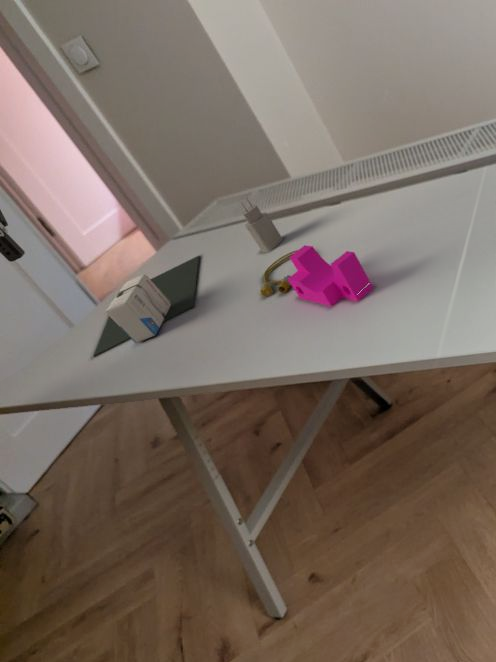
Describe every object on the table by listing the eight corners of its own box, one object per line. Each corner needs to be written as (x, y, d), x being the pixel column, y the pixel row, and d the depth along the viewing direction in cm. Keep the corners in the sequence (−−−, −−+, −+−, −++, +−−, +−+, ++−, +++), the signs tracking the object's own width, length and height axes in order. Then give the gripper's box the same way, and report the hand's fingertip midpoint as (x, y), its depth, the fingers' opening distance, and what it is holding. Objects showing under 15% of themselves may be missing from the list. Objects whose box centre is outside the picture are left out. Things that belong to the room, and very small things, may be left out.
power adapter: (284, 239, 126) (255, 192, 118) (270, 252, 122) (240, 205, 115) (275, 240, 127) (246, 194, 120) (261, 253, 124) (230, 206, 117)
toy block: (300, 298, 99) (278, 265, 94) (324, 278, 102) (304, 245, 97) (348, 311, 89) (326, 274, 85) (373, 289, 92) (354, 252, 88)
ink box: (134, 344, 107) (153, 313, 117) (156, 335, 107) (173, 304, 116) (103, 311, 102) (125, 281, 112) (126, 301, 102) (146, 272, 111)
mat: (194, 308, 112) (192, 306, 112) (95, 358, 110) (93, 355, 110) (200, 257, 136) (198, 255, 136) (118, 297, 134) (117, 295, 134)
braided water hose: (241, 299, 108) (236, 291, 106) (288, 254, 117) (283, 246, 116) (283, 298, 101) (277, 290, 100) (329, 251, 111) (324, 242, 110)
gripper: (-87, 157, 81) (9, 254, 91) (-134, 178, 70) (-20, 285, 81) (-39, 136, 82) (51, 234, 92) (-78, 153, 71) (28, 262, 82)
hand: (18, 257), depth 86 cm, fingers closed
